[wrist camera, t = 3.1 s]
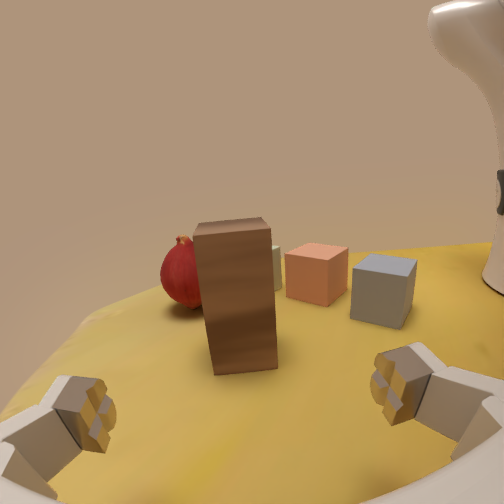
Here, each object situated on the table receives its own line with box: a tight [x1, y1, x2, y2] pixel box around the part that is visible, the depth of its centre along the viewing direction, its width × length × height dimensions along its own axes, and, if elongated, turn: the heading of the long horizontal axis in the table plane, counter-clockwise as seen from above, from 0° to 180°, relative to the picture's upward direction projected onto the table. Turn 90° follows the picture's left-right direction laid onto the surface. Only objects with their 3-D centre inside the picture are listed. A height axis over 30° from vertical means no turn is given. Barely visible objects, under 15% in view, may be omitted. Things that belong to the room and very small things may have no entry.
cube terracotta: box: [285, 243, 348, 307], centre depth 30 cm, size 5×5×5 cm
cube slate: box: [350, 253, 417, 330], centre depth 24 cm, size 5×5×5 cm
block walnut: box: [193, 217, 278, 375], centre depth 20 cm, size 4×4×10 cm
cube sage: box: [272, 246, 282, 292], centre depth 33 cm, size 5×5×5 cm
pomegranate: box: [160, 235, 202, 309], centre depth 29 cm, size 6×6×8 cm
